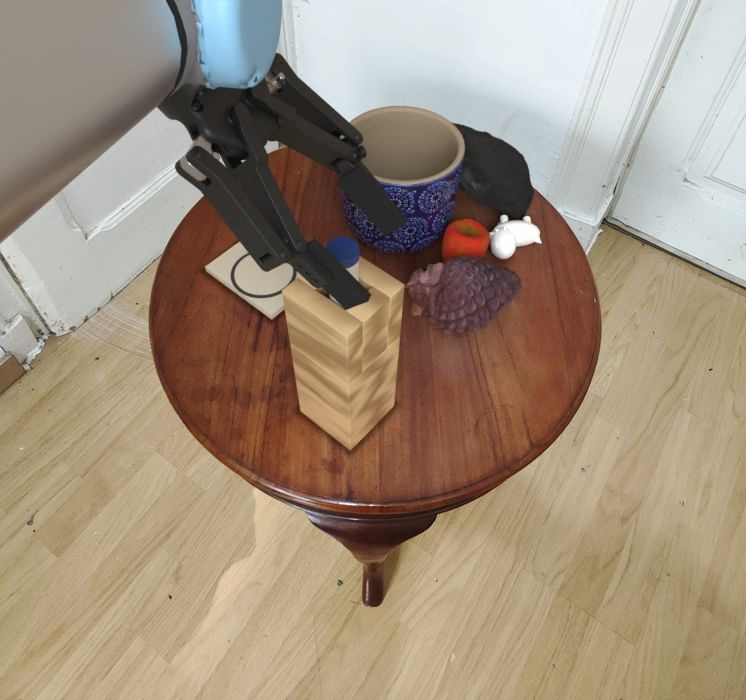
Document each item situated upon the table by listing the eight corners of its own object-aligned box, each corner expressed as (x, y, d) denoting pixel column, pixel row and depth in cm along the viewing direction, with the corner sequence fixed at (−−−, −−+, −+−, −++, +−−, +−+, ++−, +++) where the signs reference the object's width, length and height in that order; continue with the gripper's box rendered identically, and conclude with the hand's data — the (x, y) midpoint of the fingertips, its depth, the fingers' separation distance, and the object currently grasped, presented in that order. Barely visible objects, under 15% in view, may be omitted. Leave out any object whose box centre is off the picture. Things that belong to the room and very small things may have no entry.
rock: (520, 244, 92) (553, 209, 88) (442, 212, 86) (473, 173, 82) (495, 179, 102) (523, 145, 97) (423, 146, 96) (450, 108, 91)
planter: (473, 248, 92) (490, 163, 79) (368, 283, 87) (370, 199, 75) (420, 178, 100) (429, 93, 88) (323, 207, 96) (318, 121, 84)
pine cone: (492, 263, 90) (538, 240, 81) (506, 331, 89) (554, 316, 80) (381, 271, 82) (418, 247, 73) (395, 346, 81) (434, 331, 72)
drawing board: (271, 319, 84) (270, 314, 83) (206, 271, 88) (204, 265, 87) (328, 273, 89) (328, 267, 88) (263, 229, 93) (262, 224, 92)
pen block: (350, 451, 73) (347, 336, 55) (300, 411, 76) (281, 290, 58) (394, 405, 76) (405, 284, 58) (344, 369, 79) (340, 243, 61)
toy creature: (488, 209, 89) (492, 246, 86) (544, 212, 90) (549, 249, 87) (481, 230, 93) (484, 265, 90) (534, 232, 94) (539, 268, 91)
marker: (346, 355, 63) (343, 266, 53) (325, 340, 64) (318, 249, 54) (365, 338, 65) (366, 247, 54) (344, 323, 66) (341, 231, 55)
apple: (432, 254, 91) (446, 209, 85) (474, 261, 91) (490, 216, 86) (435, 281, 86) (450, 235, 81) (479, 288, 87) (496, 243, 82)
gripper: (214, 2, 52) (389, 200, 62) (52, 154, 41) (300, 369, 50) (265, -58, 47) (447, 169, 57) (95, 97, 35) (362, 349, 45)
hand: (378, 263), depth 54 cm, fingers open, 9 cm apart
